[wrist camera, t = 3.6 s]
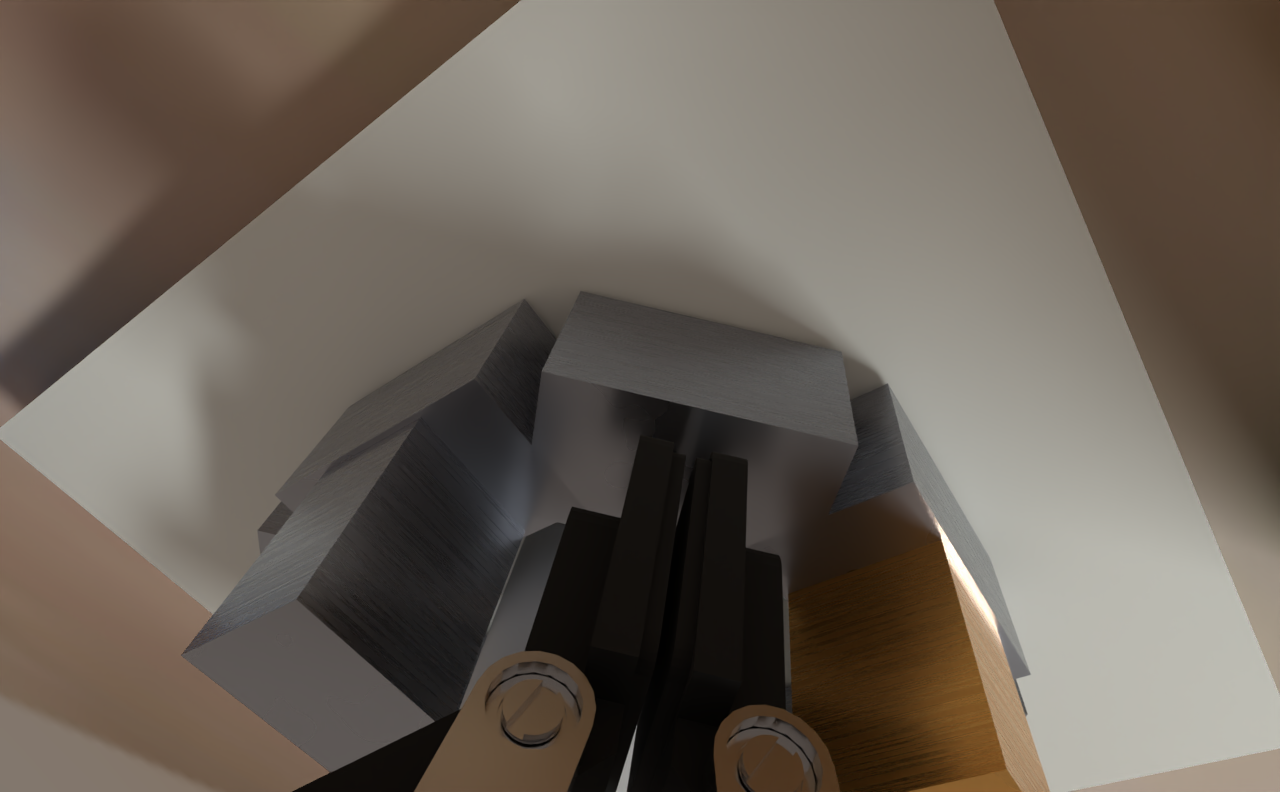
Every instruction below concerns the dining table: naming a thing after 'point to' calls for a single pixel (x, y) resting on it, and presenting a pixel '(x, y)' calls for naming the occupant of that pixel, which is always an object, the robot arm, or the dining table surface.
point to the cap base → (723, 293)
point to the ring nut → (598, 481)
